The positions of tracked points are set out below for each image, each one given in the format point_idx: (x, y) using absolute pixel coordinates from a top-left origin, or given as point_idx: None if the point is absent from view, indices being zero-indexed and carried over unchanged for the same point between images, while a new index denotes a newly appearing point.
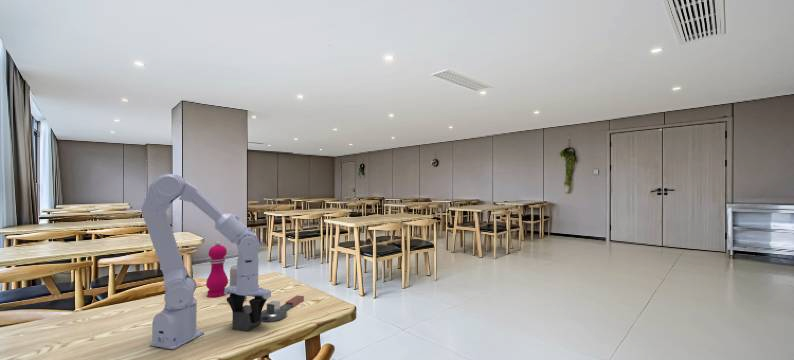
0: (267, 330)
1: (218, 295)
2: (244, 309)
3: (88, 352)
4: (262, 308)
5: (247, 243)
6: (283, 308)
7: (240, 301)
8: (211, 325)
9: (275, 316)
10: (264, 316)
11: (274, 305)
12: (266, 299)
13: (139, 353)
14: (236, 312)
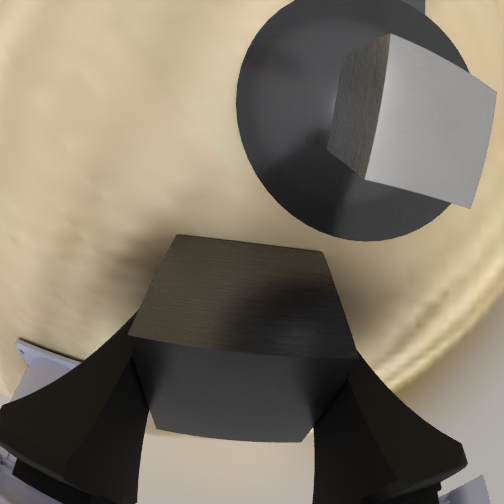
0: (391, 319)
1: None
2: (215, 413)
3: None
4: (383, 384)
5: None
6: (429, 25)
7: (120, 435)
8: (47, 299)
9: (430, 216)
10: (339, 224)
11: (464, 205)
12: (445, 447)
13: None
14: (192, 433)
